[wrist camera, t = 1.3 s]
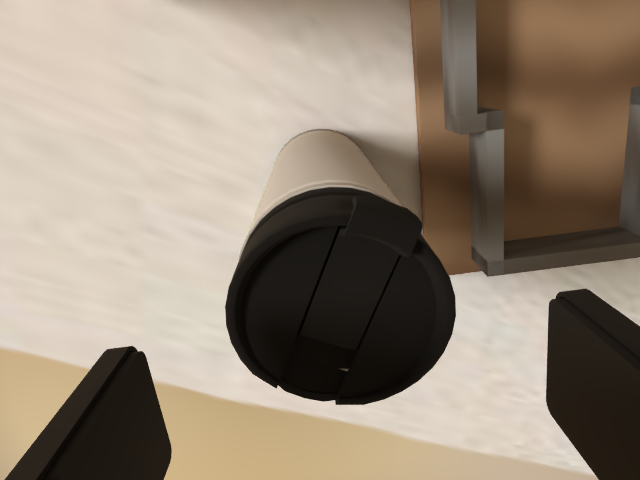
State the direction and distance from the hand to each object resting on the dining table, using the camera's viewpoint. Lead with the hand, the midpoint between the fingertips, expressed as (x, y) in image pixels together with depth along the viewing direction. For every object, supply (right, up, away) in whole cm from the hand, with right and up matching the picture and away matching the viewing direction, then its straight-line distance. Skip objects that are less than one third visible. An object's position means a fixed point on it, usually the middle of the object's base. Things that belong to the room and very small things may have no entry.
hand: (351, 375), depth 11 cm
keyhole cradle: (+14, +14, +18) cm, 27 cm away
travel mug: (-1, +7, +20) cm, 22 cm away
